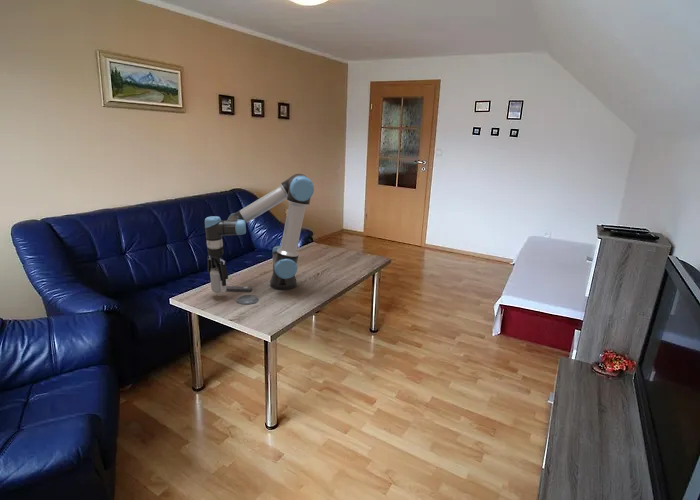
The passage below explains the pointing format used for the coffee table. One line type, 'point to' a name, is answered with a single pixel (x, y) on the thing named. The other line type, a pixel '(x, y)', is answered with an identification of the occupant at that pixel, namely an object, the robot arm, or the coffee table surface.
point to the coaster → (247, 299)
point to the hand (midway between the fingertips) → (219, 289)
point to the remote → (238, 289)
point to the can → (215, 280)
